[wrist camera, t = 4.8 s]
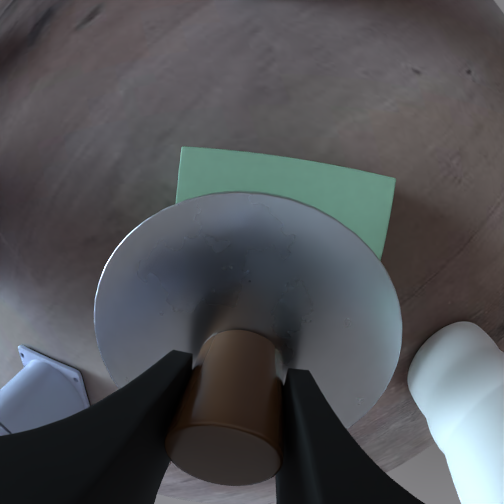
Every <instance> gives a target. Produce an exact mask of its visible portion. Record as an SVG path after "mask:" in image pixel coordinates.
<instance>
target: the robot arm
mask: <svg viewBox="0 0 504 504" xmlns="http://www.w3.org/2000/svg"><path fill="white" fill-rule="evenodd" d="M18 350H19V353H20V357H21V360H22V363H23V366H24V368H23V369H22V370H21V371H20V372H19V373H18V374H17V375H16V376H15V377H13V378H12V379H11V380H10V381H9V382H8V383H7V384H6V385H5V386H4V387H3V388H2V389H1V390H0V504H154V502H155V499H156V495H157V492H158V489H159V487H160V484H161V481H162V479H163V477H164V474H165V472H166V470H167V467H168V465H169V463H170V461H171V460H170V458H169V457H168V456H167V453H166V451H165V448H164V439H165V436H166V433H167V431H168V428H169V426H170V423H171V421H172V418H173V416H174V413H175V411H176V409H177V406H178V404H179V401H180V399H181V396H182V394H183V391H184V389H185V387H186V384H187V382H188V379H189V377H190V374H191V372H192V364H193V353H188V352H183V351H178V350H172V351H170V352H169V353H168V354H166V355H165V356H164V357H162V358H161V359H160V360H159V361H157V362H156V363H155V364H154V365H152V366H151V367H150V368H148V369H147V370H146V371H144V372H143V373H142V374H140V375H139V376H138V377H136V378H135V379H133V380H132V381H131V382H129V383H128V384H126V385H125V386H123V387H122V388H120V389H119V390H117V391H116V392H114V393H112V394H111V395H109V396H107V397H106V398H104V399H103V400H101V401H99V402H97V403H96V404H94V405H92V406H90V404H89V401H88V398H87V394H86V391H85V387H84V383H83V379H82V375H81V373H80V372H79V371H78V370H77V369H74V368H72V367H69V366H67V365H64V364H62V363H60V362H57V361H55V360H53V359H50V358H48V357H46V356H44V355H42V354H39V353H37V352H35V351H33V350H31V349H29V348H27V347H25V346H23V345H20V346H19V347H18ZM276 498H277V504H425V503H423V502H421V501H420V500H419V499H417V498H415V497H414V496H413V495H412V494H410V493H409V492H408V491H407V490H405V489H404V488H403V487H401V486H400V485H399V484H398V483H396V482H395V481H393V479H391V478H390V477H389V476H388V475H387V474H386V473H385V472H384V471H383V470H382V469H381V468H380V467H379V466H378V465H377V464H376V463H375V462H374V461H373V460H372V459H371V458H370V457H369V456H368V455H367V454H366V453H365V452H364V450H363V449H362V448H361V447H360V446H359V445H358V443H357V442H356V441H355V440H354V438H353V437H352V436H351V435H350V433H349V432H348V431H347V429H346V428H345V427H344V425H343V424H342V422H341V421H340V419H339V418H338V417H337V415H336V414H335V412H334V411H333V409H332V408H331V406H330V405H329V403H328V401H327V400H326V398H325V397H324V395H323V393H322V392H321V390H320V388H319V386H318V385H317V383H316V381H315V379H314V378H313V376H312V374H311V373H310V371H309V370H303V369H293V368H288V371H287V375H286V379H285V383H284V463H283V466H282V467H281V469H280V471H279V472H278V473H277V474H276Z"/></svg>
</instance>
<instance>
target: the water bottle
mask: <svg viewBox="0 0 504 504" xmlns="http://www.w3.org/2000/svg"><path fill="white" fill-rule="evenodd" d="M407 382H408V388H409V390H410V393H411V395H412V397H413V399H414V401H415V402H416V404H417V406H418V407H419V409H420V410H421V412H422V413H423V414H424V416H425V417H426V419H427V423H428V427H429V429H430V432H431V434H432V437H433V439H434V441H435V442H436V444H437V446H438V447H439V449H440V450H441V451H442V452H443V453H444V454H445V456H446V460H447V464H448V467H449V470H450V473H451V476H452V479H453V482H454V485H455V488H456V490H457V493H458V496H459V499H460V501H461V504H504V352H502V351H501V350H499V348H498V347H497V345H496V344H495V342H494V341H493V340H492V339H491V338H490V337H489V336H488V334H487V333H486V332H484V331H483V330H482V329H481V328H480V327H479V326H477V325H476V324H474V323H471V322H466V321H462V322H456V323H453V324H450V325H448V326H445V327H444V328H442V329H440V330H439V331H437V332H436V333H435V334H433V335H432V336H431V337H430V338H429V339H428V340H427V341H426V342H425V343H424V344H423V345H422V346H421V348H420V349H419V350H418V352H417V353H416V355H415V357H414V358H413V360H412V362H411V365H410V368H409V371H408V378H407Z"/></svg>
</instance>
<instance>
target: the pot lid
mask: <svg viewBox="0 0 504 504" xmlns="http://www.w3.org/2000/svg"><path fill="white" fill-rule="evenodd" d="M94 324H95V334H96V338H97V343H98V348H99V351H100V353H101V356H102V359H103V362H104V364H105V366H106V368H107V370H108V372H109V374H110V376H111V378H112V379H113V381H114V382H115V384H116V386H117V387H118V389H120V388H122V387H123V386H125V385H126V384H128V383H129V382H131V381H132V380H133V379H135V378H136V377H138V376H139V375H140V374H142V373H143V372H144V371H146V370H147V369H148V368H150V367H151V366H152V365H154V364H155V363H156V362H157V361H159V360H160V359H161V358H162V357H164V356H165V355H166V354H168V353H169V352H170V351H172V350H178V351H183V352H188V353H193V364H192V372H191V374H190V377H189V379H188V382H187V384H186V387H185V389H184V391H183V394H182V396H181V399H180V401H179V404H178V406H177V409H176V411H175V413H174V416H173V418H172V421H171V423H170V426H169V428H168V431H167V433H166V436H165V439H164V448H165V451H166V453H167V456H168V457H169V458H170V460H171V461H172V462H173V463H174V464H175V465H176V466H177V467H179V468H180V469H181V470H183V471H184V472H186V473H188V474H190V475H191V476H193V477H196V478H198V479H201V480H204V481H207V482H211V483H215V484H220V485H229V486H244V485H252V484H257V483H260V482H263V481H266V480H268V479H270V478H272V477H273V476H275V475H276V474H277V473H278V472H279V471H280V469H281V467H282V466H283V463H284V383H285V379H286V375H287V371H288V368H293V369H303V370H309V371H310V373H311V374H312V376H313V378H314V379H315V381H316V383H317V385H318V386H319V388H320V390H321V392H322V393H323V395H324V397H325V398H326V400H327V401H328V403H329V405H330V406H331V408H332V409H333V411H334V412H335V414H336V415H337V417H338V418H339V419H340V421H341V422H342V424H343V425H344V427H345V428H346V429H348V428H349V427H351V426H352V425H353V424H355V423H356V422H357V421H358V420H359V419H361V418H362V417H363V416H364V415H365V414H366V413H367V412H368V411H369V410H370V409H371V408H372V407H373V406H374V405H375V403H376V402H377V401H378V399H379V398H380V397H381V395H382V394H383V392H384V391H385V389H386V387H387V386H388V384H389V382H390V380H391V378H392V376H393V374H394V371H395V368H396V365H397V363H398V359H399V355H400V350H401V345H402V316H401V308H400V304H399V300H398V297H397V293H396V290H395V287H394V285H393V283H392V281H391V279H390V277H389V275H388V273H387V271H386V269H385V267H384V266H383V264H382V263H381V262H380V260H379V259H378V257H377V256H376V255H375V253H374V252H373V251H372V250H371V248H370V247H369V246H368V245H367V244H366V243H365V242H364V241H363V240H362V239H361V238H360V237H359V236H358V235H357V234H356V233H354V232H353V231H352V230H350V229H349V228H348V227H346V226H345V225H344V224H342V223H341V222H340V221H338V220H337V219H336V218H334V217H333V216H331V215H329V214H327V213H326V212H324V211H322V210H320V209H318V208H316V207H314V206H312V205H310V204H307V203H305V202H302V201H299V200H296V199H293V198H291V197H287V196H283V195H278V194H273V193H268V192H260V191H244V190H237V191H224V192H215V193H210V194H206V195H201V196H197V197H193V198H190V199H186V200H184V201H181V202H179V203H176V204H174V205H171V206H169V207H166V208H164V209H162V210H161V211H159V212H157V213H156V214H154V215H152V216H151V217H149V218H147V219H146V220H144V221H143V222H142V223H141V224H139V225H138V226H137V227H136V228H135V229H133V230H132V231H131V232H130V233H129V234H128V235H127V236H126V237H125V238H124V239H123V241H122V242H121V243H120V244H119V245H118V246H117V248H116V249H115V251H114V252H113V254H112V255H111V257H110V259H109V260H108V262H107V264H106V266H105V268H104V270H103V273H102V275H101V278H100V280H99V284H98V288H97V292H96V297H95V307H94Z"/></svg>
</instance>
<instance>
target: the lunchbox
mask: <svg viewBox="0 0 504 504" xmlns="http://www.w3.org/2000/svg"><path fill="white" fill-rule="evenodd" d="M395 184H396V179H395V178H392V177H388V176H384V175H380V174H375V173H371V172H366V171H362V170H357V169H352V168H347V167H342V166H337V165H332V164H326V163H321V162H315V161H309V160H303V159H296V158H290V157H283V156H276V155H269V154H261V153H253V152H244V151H235V150H225V149H214V148H202V147H187V146H183V147H182V149H181V157H180V166H179V175H178V185H177V196H176V203H179V202H181V201H184V200H186V199H190V198H193V197H197V196H201V195H206V194H210V193H215V192H224V191H237V190H244V191H260V192H268V193H273V194H278V195H283V196H287V197H291V198H293V199H296V200H299V201H302V202H305V203H307V204H310V205H312V206H314V207H316V208H318V209H320V210H322V211H324V212H326V213H327V214H329V215H331V216H333V217H334V218H336V219H337V220H338V221H340V222H341V223H342V224H344V225H345V226H346V227H348V228H349V229H350V230H352V231H353V232H354V233H356V234H357V235H358V236H359V237H360V238H361V239H362V240H363V241H364V242H365V243H366V244H367V245H368V246H369V247H370V248H371V250H372V251H373V252H374V253H375V255H376V256H377V257H378V259H379V260H380V261H381V257H382V253H383V248H384V244H385V239H386V234H387V229H388V224H389V219H390V214H391V208H392V203H393V197H394V190H395Z"/></svg>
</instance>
